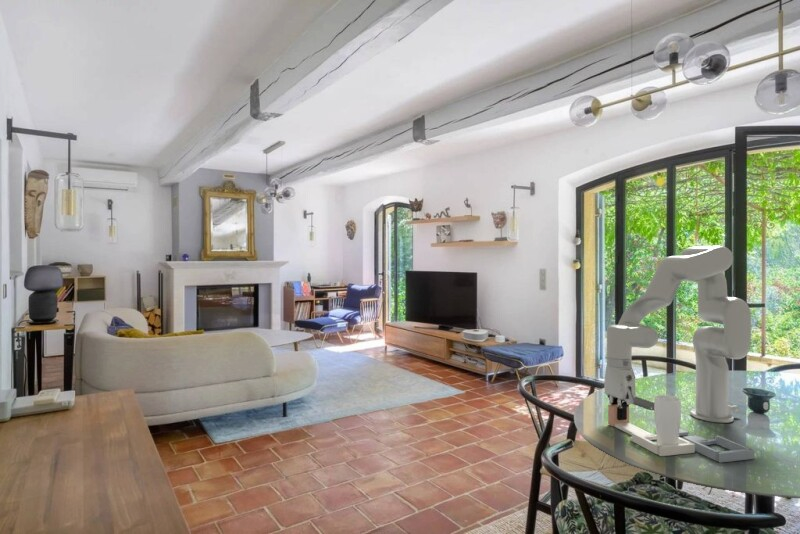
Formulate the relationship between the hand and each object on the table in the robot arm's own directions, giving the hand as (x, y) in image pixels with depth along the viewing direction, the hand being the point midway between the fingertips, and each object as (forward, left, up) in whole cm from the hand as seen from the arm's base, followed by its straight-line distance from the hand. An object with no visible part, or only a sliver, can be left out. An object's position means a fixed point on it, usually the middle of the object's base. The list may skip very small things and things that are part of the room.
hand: (618, 417), depth 158 cm
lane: (0, +12, -2) cm, 12 cm away
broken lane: (-13, +19, -2) cm, 23 cm away
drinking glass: (0, +21, -3) cm, 21 cm away
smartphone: (-25, -20, -3) cm, 32 cm away
